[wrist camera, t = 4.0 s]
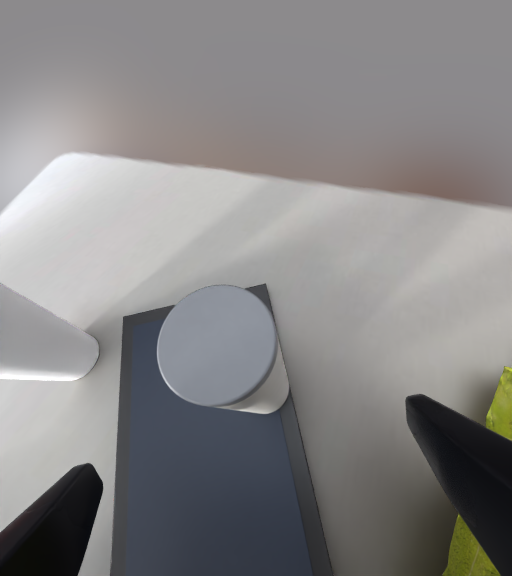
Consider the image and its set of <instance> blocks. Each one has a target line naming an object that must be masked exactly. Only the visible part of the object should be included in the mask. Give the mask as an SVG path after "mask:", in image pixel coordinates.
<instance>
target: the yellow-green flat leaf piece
mask: <svg viewBox="0 0 512 576" xmlns="http://www.w3.org/2000/svg"><path fill="white" fill-rule="evenodd" d="M486 428H488V429H490V430H492V431H494V432H496V433H498V434H500V435H502V436H504V437H506V438H507V439H509V440H511V441H512V368H509V367H505V366H504V371H503V374H502V376H501V378H500V380H499V384H498V387H497V390H496V393H495V396H494V399H493V402H492V405H491V407H490V409H489V412H488V414H487V416H486ZM442 576H501V575H500V574H499V573H498V571H497V570H496V568H495V567H494V565H493V564H492V562H491V561H490V559H489V558H488V556H487V555H486V553H485V552H484V550H483V549H482V547H481V546H480V544H479V543H478V541H477V540H476V538H475V537H474V535H473V534H472V532H471V531H470V529H469V528H468V526H467V525H466V523H465V522H464V520H463V519H462V517H461V516H460V514H458V517H457V520H456V524H455V528H454V532H453V536H452V540H451V545H450V549H449V558H448V566H447V567H446V569H445V571H444V573H443V575H442Z"/></svg>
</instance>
